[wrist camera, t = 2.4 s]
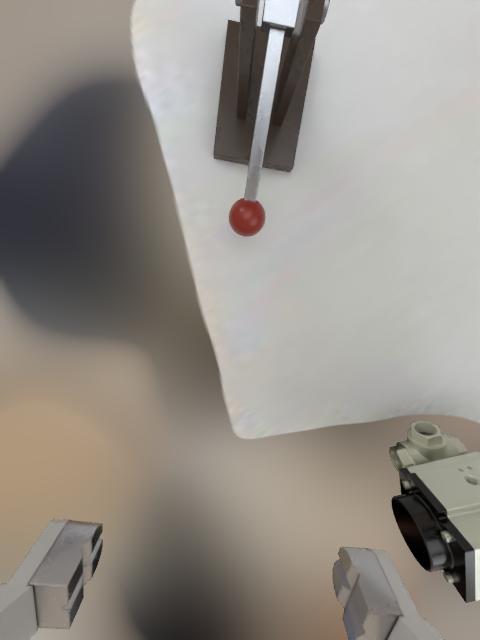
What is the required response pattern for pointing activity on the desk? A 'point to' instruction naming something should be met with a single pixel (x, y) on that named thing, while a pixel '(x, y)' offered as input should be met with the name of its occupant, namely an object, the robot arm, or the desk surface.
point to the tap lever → (264, 112)
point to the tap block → (245, 84)
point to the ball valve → (440, 505)
